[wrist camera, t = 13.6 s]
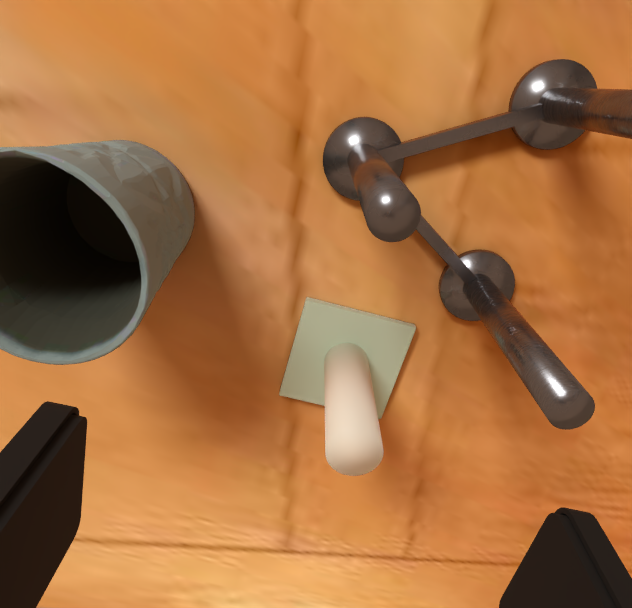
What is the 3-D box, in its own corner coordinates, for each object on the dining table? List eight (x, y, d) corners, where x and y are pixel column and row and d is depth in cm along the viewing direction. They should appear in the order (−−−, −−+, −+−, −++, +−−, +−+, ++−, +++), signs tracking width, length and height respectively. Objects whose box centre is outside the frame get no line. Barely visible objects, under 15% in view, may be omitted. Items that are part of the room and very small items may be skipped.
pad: (414, 324, 37) (416, 327, 37) (380, 414, 40) (380, 419, 40) (306, 296, 37) (306, 300, 36) (279, 390, 40) (278, 395, 39)
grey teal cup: (209, 279, 36) (161, 366, 25) (64, 279, 36) (-48, 366, 25) (196, 125, 32) (131, 148, 21) (32, 125, 32) (-117, 148, 21)
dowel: (373, 348, 37) (391, 436, 28) (360, 385, 39) (373, 480, 30) (331, 338, 37) (334, 423, 28) (319, 375, 38) (318, 468, 29)
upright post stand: (607, 73, 31) (840, 68, 17) (494, 324, 37) (596, 467, 24) (365, -4, 29) (404, -77, 16) (291, 271, 36) (272, 391, 22)
